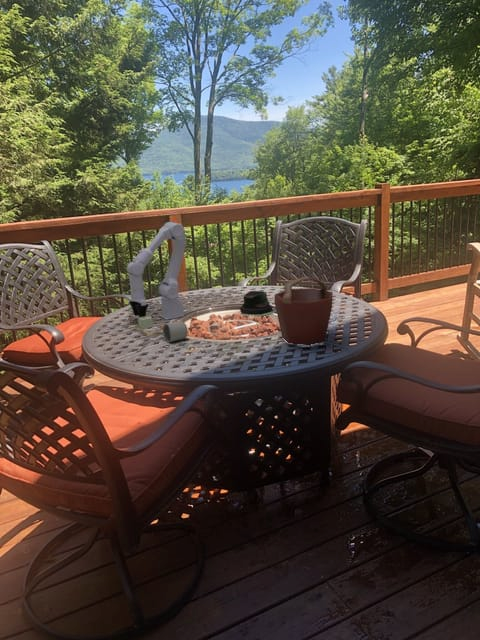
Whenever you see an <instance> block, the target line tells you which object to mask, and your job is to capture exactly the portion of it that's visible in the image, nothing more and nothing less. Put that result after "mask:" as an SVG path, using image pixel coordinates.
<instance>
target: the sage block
mask: <svg viewBox="0 0 480 640" xmlns="http://www.w3.org/2000/svg"><path fill="white" fill-rule="evenodd" d="M137 325H138V328H139V327H140V328H142V329H143V330H144V329H147V328H148V329H149V328H152V327H154V320H153V317H151V316H150V315H146V316H143V317H139V316H137Z"/></svg>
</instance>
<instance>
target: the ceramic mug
mask: <svg viewBox="0 0 480 640" xmlns="http://www.w3.org/2000/svg"><path fill="white" fill-rule="evenodd" d="M162 326H163V334H162V335H163V337H164V340H165V341H166V342H167V343H172V342H176V341H179V340H180V341H182V340H184V339H186V338H187V337H188V332H189V331H188V326H187V324H186V323H185V322H183V321H174V322H167V323H164V325H162Z"/></svg>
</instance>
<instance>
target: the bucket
mask: <svg viewBox="0 0 480 640" xmlns="http://www.w3.org/2000/svg"><path fill="white" fill-rule="evenodd" d="M309 280H311V281H313V282H315V283H317V284H318V285H319V286H320V288H315V287H309V288H293V286H295V285H297V284H298V283H301V282H303V281H309ZM283 286H284V287H283V288H284V289H283V291H280V292H277V293H275V294H274V305H275V310H276V315H277V319H278V325H279V329H280V334H281V337H283V338H284V339H285V340H286V341H287V342H288V343H293V344H306V345H311V344H315V343H319V342H324V341H325V342H326V338H327V337H326V336H327V333H328V329H329V323H330V319H331V313H332V308H333V291H330V290H329V291H328V286H327V285H326V283H325V282H324V281H321V280H319V279H317V278H313V277H309V276H308V277H307V276H304V277H299V278H295V279H293V280H290V281H289V282H286V283H285V284H284V285H283Z"/></svg>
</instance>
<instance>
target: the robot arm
mask: <svg viewBox="0 0 480 640" xmlns="http://www.w3.org/2000/svg"><path fill="white" fill-rule="evenodd" d="M166 240H171V242H172V243H173V248H172V250H171V255H170V258H169V262H168V263H169V264H168V267H167V271H166V275H165V277H164V278H163V279H162V281H161V283H160V285H159V286H158V293H159V295H160V296H161V297H160V298H161V312H162V314H160V315H159V316H160V318H162V319H164V320H171V319H172V320H173V319H176V318H181V317H185V315H184V304H183V299H182V297H180V296H179V282H178V278H179V273H180V270H181V267H182V261H183V258H184V255H185V250H186V247H187V238H186V229H185V227H184V226H183V225H182V224H181V223H178V222H172V221H167V222H165V223H164V225H163V226H162V227H160V229H159V231H158V233H157V234H156V235H155V237H154V238H153V239H152V240H151V242H150V243H149V245H148V246H147V247H144V248H142V249H140V250H138V254H137V255H136V256H135V258H132V261H130V262H129V263H127V266H126V269H125V270H126V272H127V273H128V276H129V286H130V298H128V303H129V305H130V307H131V308H132V309H131V310H132V312H133V315H134V316H135V317H143V316H147V310H148V307H149V304H148V303H147V302H146V297H145V292H144V281H143V274H144V272H145V267H146V266H147V265H148V264H149V263H150V261H151V260H152V259H153V258H154V253H155V251H156V250H157V249H158V248H159V247H160V246H161V244H162V243H163V242H164V241H166Z"/></svg>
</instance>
